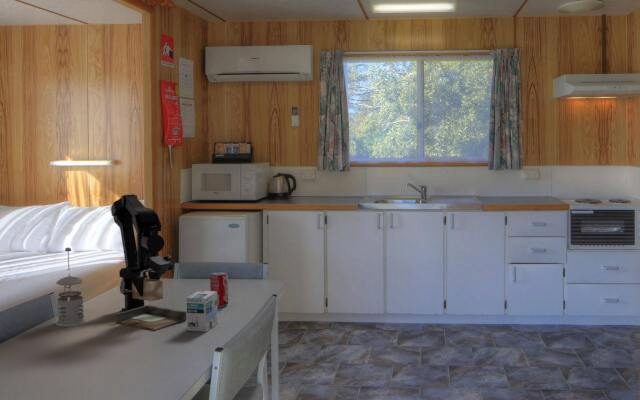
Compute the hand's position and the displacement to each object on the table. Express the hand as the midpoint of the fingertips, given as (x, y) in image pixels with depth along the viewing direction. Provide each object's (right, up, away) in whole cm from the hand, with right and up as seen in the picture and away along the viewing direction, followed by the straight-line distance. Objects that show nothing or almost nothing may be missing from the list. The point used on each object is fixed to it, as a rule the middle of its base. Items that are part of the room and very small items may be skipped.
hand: (147, 294), depth 226 cm
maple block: (0, -1, 0) cm, 1 cm away
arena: (+2, -9, -1) cm, 9 cm away
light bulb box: (+20, -10, -8) cm, 23 cm away
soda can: (+21, -7, +19) cm, 29 cm away
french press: (-25, -9, -1) cm, 27 cm away
